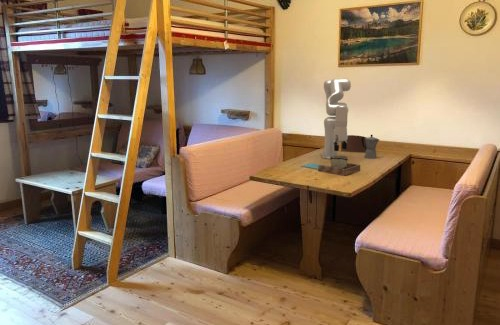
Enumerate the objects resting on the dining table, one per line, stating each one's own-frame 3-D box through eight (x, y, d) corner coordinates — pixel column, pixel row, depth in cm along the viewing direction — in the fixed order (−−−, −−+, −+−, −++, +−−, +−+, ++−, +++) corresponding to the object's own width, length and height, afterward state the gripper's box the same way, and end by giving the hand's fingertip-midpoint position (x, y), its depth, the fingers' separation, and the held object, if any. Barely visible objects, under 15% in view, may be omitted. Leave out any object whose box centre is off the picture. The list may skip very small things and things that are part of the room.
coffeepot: (381, 157, 315) (382, 134, 311) (375, 159, 308) (376, 136, 304) (363, 155, 325) (364, 132, 322) (357, 157, 319) (358, 134, 315)
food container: (349, 170, 276) (350, 156, 273) (347, 172, 270) (348, 157, 268) (331, 169, 281) (332, 154, 278) (329, 171, 275) (329, 156, 273)
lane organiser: (318, 170, 276) (318, 165, 275) (333, 166, 289) (333, 160, 288) (345, 175, 262) (346, 169, 261) (360, 170, 275) (360, 164, 274)
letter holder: (365, 152, 336) (365, 136, 333) (340, 151, 343) (341, 134, 340) (366, 150, 344) (367, 134, 341) (343, 149, 352) (343, 133, 349)
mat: (300, 166, 290) (300, 165, 290) (310, 163, 299) (310, 162, 298) (319, 169, 279) (319, 169, 279) (329, 166, 288) (329, 166, 288)
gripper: (343, 122, 277) (342, 147, 280) (329, 125, 265) (328, 151, 268) (352, 123, 272) (352, 148, 275) (339, 125, 260) (338, 152, 263)
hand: (340, 150), depth 272 cm, fingers open, 9 cm apart
